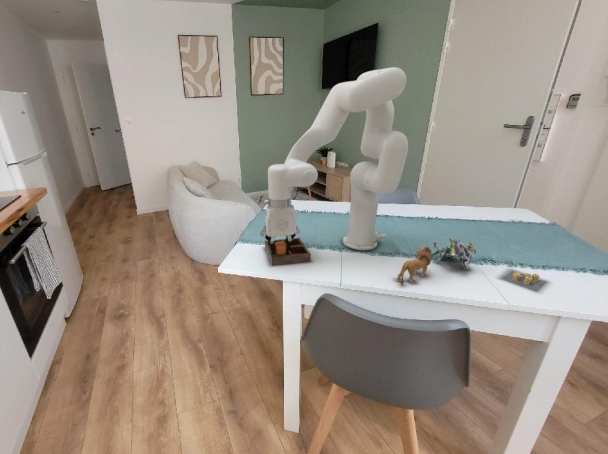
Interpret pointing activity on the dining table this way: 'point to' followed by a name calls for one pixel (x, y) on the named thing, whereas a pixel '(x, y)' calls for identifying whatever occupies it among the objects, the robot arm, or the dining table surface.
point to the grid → (289, 253)
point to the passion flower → (457, 252)
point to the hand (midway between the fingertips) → (280, 250)
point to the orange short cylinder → (280, 247)
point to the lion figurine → (416, 264)
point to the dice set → (525, 280)
